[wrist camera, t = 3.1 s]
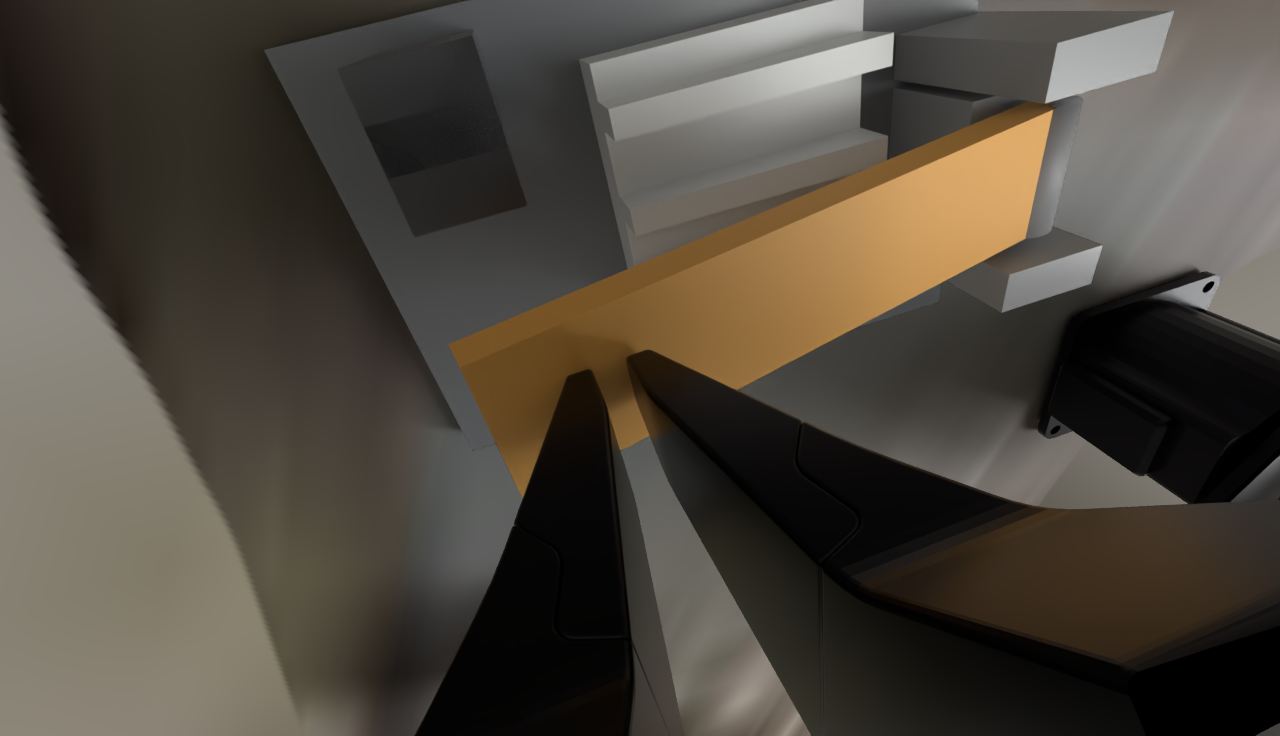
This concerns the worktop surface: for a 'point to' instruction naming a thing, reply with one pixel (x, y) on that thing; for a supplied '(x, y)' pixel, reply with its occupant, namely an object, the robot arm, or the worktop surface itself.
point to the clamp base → (694, 135)
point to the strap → (777, 277)
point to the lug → (436, 131)
